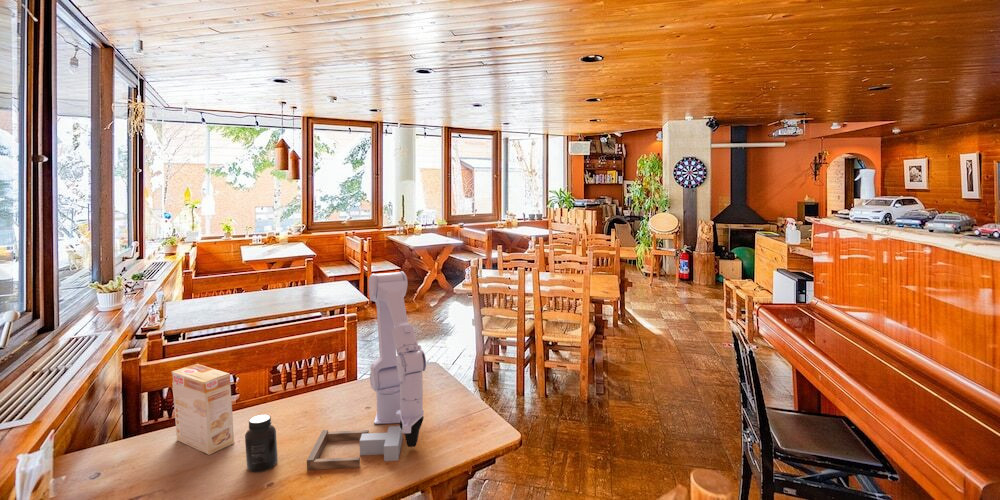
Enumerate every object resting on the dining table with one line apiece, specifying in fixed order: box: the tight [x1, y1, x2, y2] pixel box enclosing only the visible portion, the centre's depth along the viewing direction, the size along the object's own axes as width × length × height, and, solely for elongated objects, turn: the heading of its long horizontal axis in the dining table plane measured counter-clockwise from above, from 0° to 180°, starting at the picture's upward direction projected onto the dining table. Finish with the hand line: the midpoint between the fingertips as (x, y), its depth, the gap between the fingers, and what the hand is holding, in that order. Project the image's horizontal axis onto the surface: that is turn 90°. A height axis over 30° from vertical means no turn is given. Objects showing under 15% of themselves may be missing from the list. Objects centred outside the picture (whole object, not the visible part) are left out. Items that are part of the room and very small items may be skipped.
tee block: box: [359, 425, 403, 462], centre depth 124 cm, size 10×10×4 cm
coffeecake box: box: [170, 363, 235, 456], centre depth 126 cm, size 15×7×20 cm, turn 62°
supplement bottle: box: [244, 413, 278, 473], centre depth 116 cm, size 7×7×12 cm
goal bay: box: [306, 429, 370, 471], centre depth 123 cm, size 12×14×2 cm
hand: (412, 445), depth 125 cm, fingers closed
